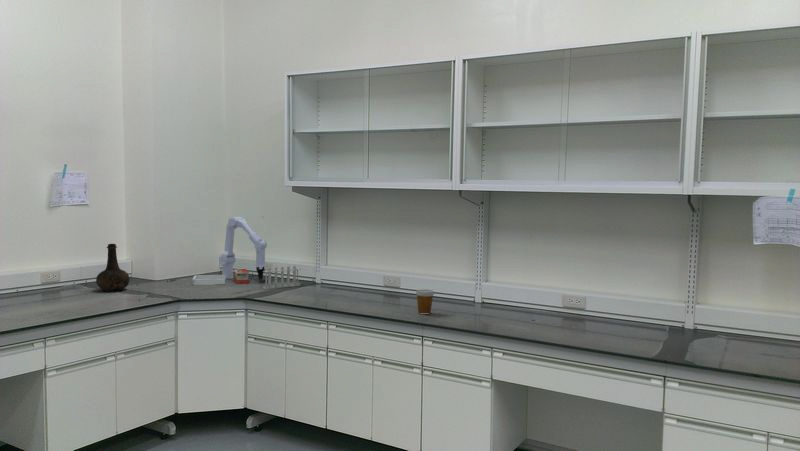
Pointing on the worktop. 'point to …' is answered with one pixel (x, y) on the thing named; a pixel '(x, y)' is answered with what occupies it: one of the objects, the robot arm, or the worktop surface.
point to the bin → (208, 279)
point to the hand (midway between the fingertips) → (260, 278)
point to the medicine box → (241, 276)
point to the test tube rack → (282, 277)
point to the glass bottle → (112, 273)
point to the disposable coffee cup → (424, 300)
